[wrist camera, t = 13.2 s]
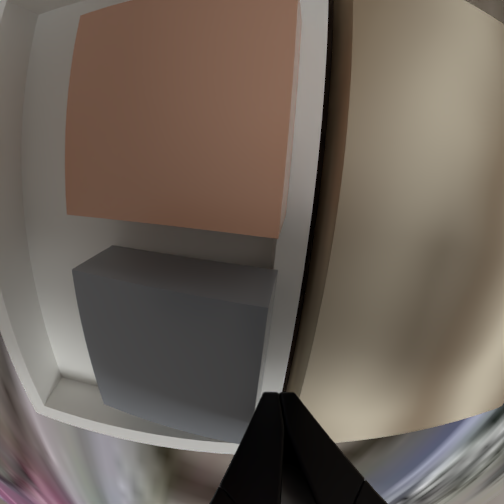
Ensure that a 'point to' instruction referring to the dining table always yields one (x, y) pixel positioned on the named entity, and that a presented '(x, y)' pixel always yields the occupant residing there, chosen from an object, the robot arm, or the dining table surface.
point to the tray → (116, 223)
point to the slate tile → (177, 337)
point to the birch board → (407, 223)
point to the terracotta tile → (184, 113)
